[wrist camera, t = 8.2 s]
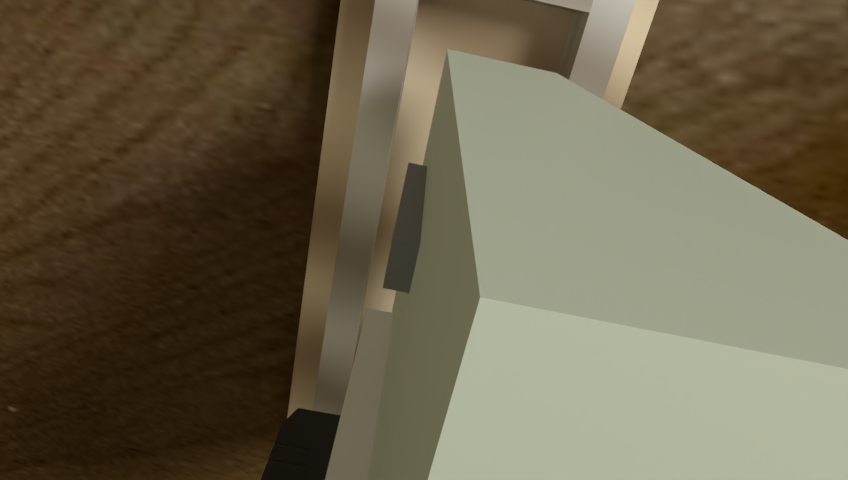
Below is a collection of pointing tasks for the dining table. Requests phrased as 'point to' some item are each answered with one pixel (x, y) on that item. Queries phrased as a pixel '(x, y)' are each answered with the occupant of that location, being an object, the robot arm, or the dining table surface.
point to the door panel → (601, 302)
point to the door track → (419, 139)
